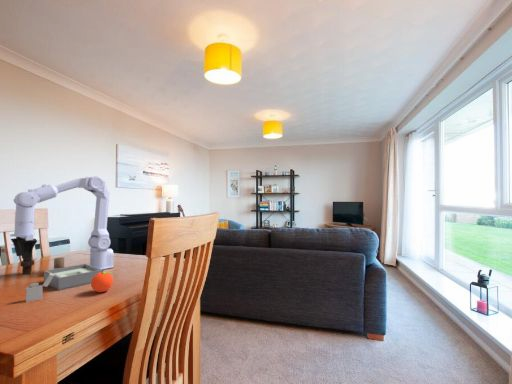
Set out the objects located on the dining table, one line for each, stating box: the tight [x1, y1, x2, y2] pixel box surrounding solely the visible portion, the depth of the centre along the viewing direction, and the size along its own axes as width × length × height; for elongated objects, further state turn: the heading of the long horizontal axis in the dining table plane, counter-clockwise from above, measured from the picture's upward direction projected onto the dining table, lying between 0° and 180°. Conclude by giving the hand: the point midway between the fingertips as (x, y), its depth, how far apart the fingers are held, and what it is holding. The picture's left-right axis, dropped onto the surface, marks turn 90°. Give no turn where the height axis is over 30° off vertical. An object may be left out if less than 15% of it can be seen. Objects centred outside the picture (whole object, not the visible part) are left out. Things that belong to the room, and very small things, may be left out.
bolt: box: [20, 238, 37, 275], centre depth 115 cm, size 6×5×15 cm
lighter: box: [25, 273, 54, 303], centre depth 87 cm, size 7×2×8 cm, turn 130°
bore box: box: [43, 263, 104, 292], centre depth 105 cm, size 15×16×4 cm
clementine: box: [90, 271, 116, 293], centre depth 95 cm, size 8×7×7 cm
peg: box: [53, 256, 65, 269], centre depth 114 cm, size 4×4×7 cm
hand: (23, 257), depth 102 cm, fingers open, 7 cm apart
